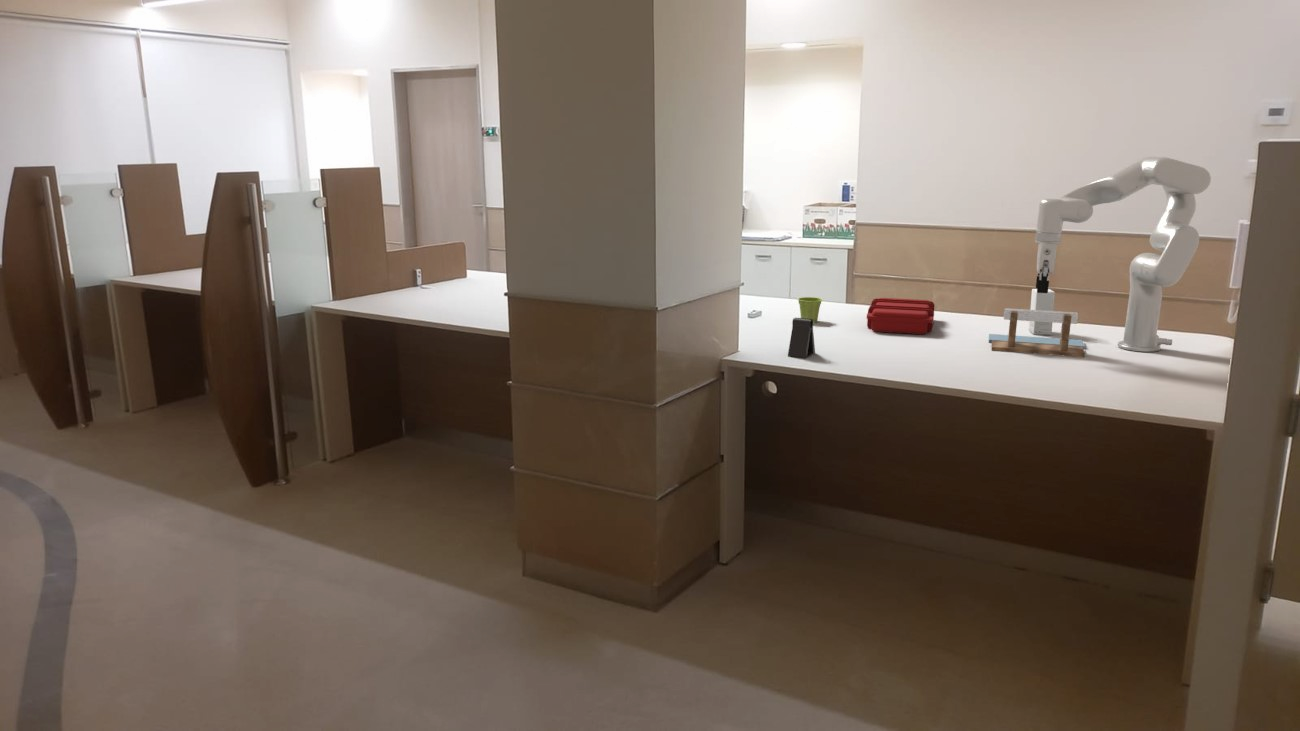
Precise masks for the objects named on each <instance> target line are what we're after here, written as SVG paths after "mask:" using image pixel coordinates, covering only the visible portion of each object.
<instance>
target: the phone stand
mask: <svg viewBox="0 0 1300 731" xmlns="http://www.w3.org/2000/svg"><path fill="white" fill-rule="evenodd" d="M791 324H792V327H791V334H790V341H789V347H788V351H787V352H788V353H787V357H791V358H798V359H807V358H809V357H811V356H812V355H814V354H816V348H815V347H816V346H815V337H814V322H813V320H812V319H804V318H801V317H793V319H792V322H791Z"/></svg>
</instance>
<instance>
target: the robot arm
mask: <svg viewBox="0 0 1300 731" xmlns="http://www.w3.org/2000/svg"><path fill="white" fill-rule="evenodd" d="M1211 179H1212V176H1211V174H1210V172H1209V171H1208V170H1207V169H1206V168H1205V167H1203V166H1199V165H1195V164H1192V163H1188V162H1185V161H1181V160H1178V159H1174V158H1171V157H1165V156H1147V157H1143V158H1141V159H1139V160H1137V161H1135V162H1133V163H1131V164H1129V165H1128V166H1126V167H1124V168H1122V169H1120V170H1118V171H1117V172H1115V173H1113V174H1111V175H1109V176H1107V177H1104V178H1101V179H1099V180H1096V181H1094V182H1091V183H1087V184H1086V185H1082V186H1080V187H1077V188H1075V189H1073V190H1072V191H1070V192H1068V193H1066V194H1064V195H1063V196H1061V197H1059V198H1043V199H1041V200H1040V201H1039V206H1038V207H1039V208H1038V215H1037V221H1036V222H1037V223H1036V231H1035V232H1036V233H1035V238H1034V243H1038V245H1037V246H1038V247H1037V256H1036V272H1037V276H1036V280H1035V281H1036V282H1035V289H1037V293H1048V289H1049V285H1050V274H1051V275H1054V273H1055V266H1056V257H1057V244H1061V241H1062V240H1061V239H1062V233H1063V232H1062V231H1063V227H1064V226H1063V224H1064V222H1068V223H1076V224H1080V223H1084V222H1087V221H1089V220H1090V218H1092V216H1093V214H1094V206H1097V205H1103V204H1110V203H1115V202H1120V201H1122V200H1125V199H1126V198H1128V197H1130V196H1132V195H1133V194H1135V193H1138V192H1139V191H1140V190H1143V189H1145V188H1146V187H1148V186H1150V185H1157V186H1161V187H1162V188H1163V190H1164V193H1165V195H1166V196H1165V197H1166V204H1165V207H1164V209H1163V210H1162V213H1161V215H1160V217H1159V219H1158V221H1157V223H1156V224H1155V227H1154V228H1153V230H1152V232H1151V234H1150V237H1149V245H1150V246H1151V247H1152V248H1153V249H1155V250H1156V251H1159V252H1162V253H1161V254H1159V253H1153V252H1143V253H1140V254H1138V255H1136V256H1135V257H1134V258H1133V259H1132V261H1131V262H1130V265H1129V294H1128V295H1129V296H1128V302H1127V310H1126V318H1125V324H1124V332H1123V334H1124V335H1123V340H1120V341H1118V342H1117V347H1118V348H1120V349H1123V350H1127V351H1132V352H1141V353H1142V352H1147V353H1153V352H1159V351H1160V350H1161V345H1165V346H1172V345H1173V339H1170V338H1163V337H1159V336H1158V328H1159V321H1160V316H1161V314H1160V313H1161V308H1162V307H1161V306H1162V300H1163V290H1162V287H1165V288H1167V287H1171V286H1174V285H1175V284H1177V283H1178V282H1179V281H1180V279H1181V278H1182V277H1183V275H1184V273H1185V271H1186V270H1187V269H1188V267H1189V265H1190V263H1191V262H1192V259H1193V258H1194V255H1195V253H1196V252H1197V250H1198V247H1199V244H1200V234H1199V232H1198V231H1197V229H1196V228H1195V227H1194V226H1191V225H1190V224H1191V222H1192V220H1193V217H1194V214H1195V212H1196V207H1197V202H1196V197H1195V195H1199V194H1201V193H1203V192H1205V191H1206V190H1207V189H1208V188H1209V187H1210V185H1211V182H1212V181H1211Z"/></svg>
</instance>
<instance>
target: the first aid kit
mask: <svg viewBox="0 0 1300 731" xmlns="http://www.w3.org/2000/svg"><path fill="white" fill-rule="evenodd" d="M934 317H935V303H934V302H933V301H931V300H928V299H918V298H917V299H916V298H915V299H914V298H913V299H912V298H896V297H879V298H873V299H872V301H871V303H870V306H869V307H868V310H867V314H866V319H867V321H866V325H867V328H868V329H870V330H871V331H873V332H881V333H893V334H894V333H896V334H897V333H898V334H915V335H925V334H926V333H931V332H933V331H932V330H933V328H934V319H935V318H934Z"/></svg>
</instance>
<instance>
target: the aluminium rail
mask: <svg viewBox="0 0 1300 731" xmlns="http://www.w3.org/2000/svg"><path fill="white" fill-rule="evenodd" d="M1011 312H1018V317H1017V321H1021V322H1022V321H1023V322H1030V321H1037V322H1053V323H1055V324H1058V323H1059V324H1062V323H1064V315H1071V324H1073V325H1077V324H1078V318H1079V313H1078V312H1075V311H1074V312H1073V311H1060V310H1059V311H1058V310H1057V311H1056V310H1054V311H1044V310H1030V309H1023V308H1007V307H1004V312H1003V320H1008V321H1010V320H1011ZM1053 323H1052V324H1053Z"/></svg>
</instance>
